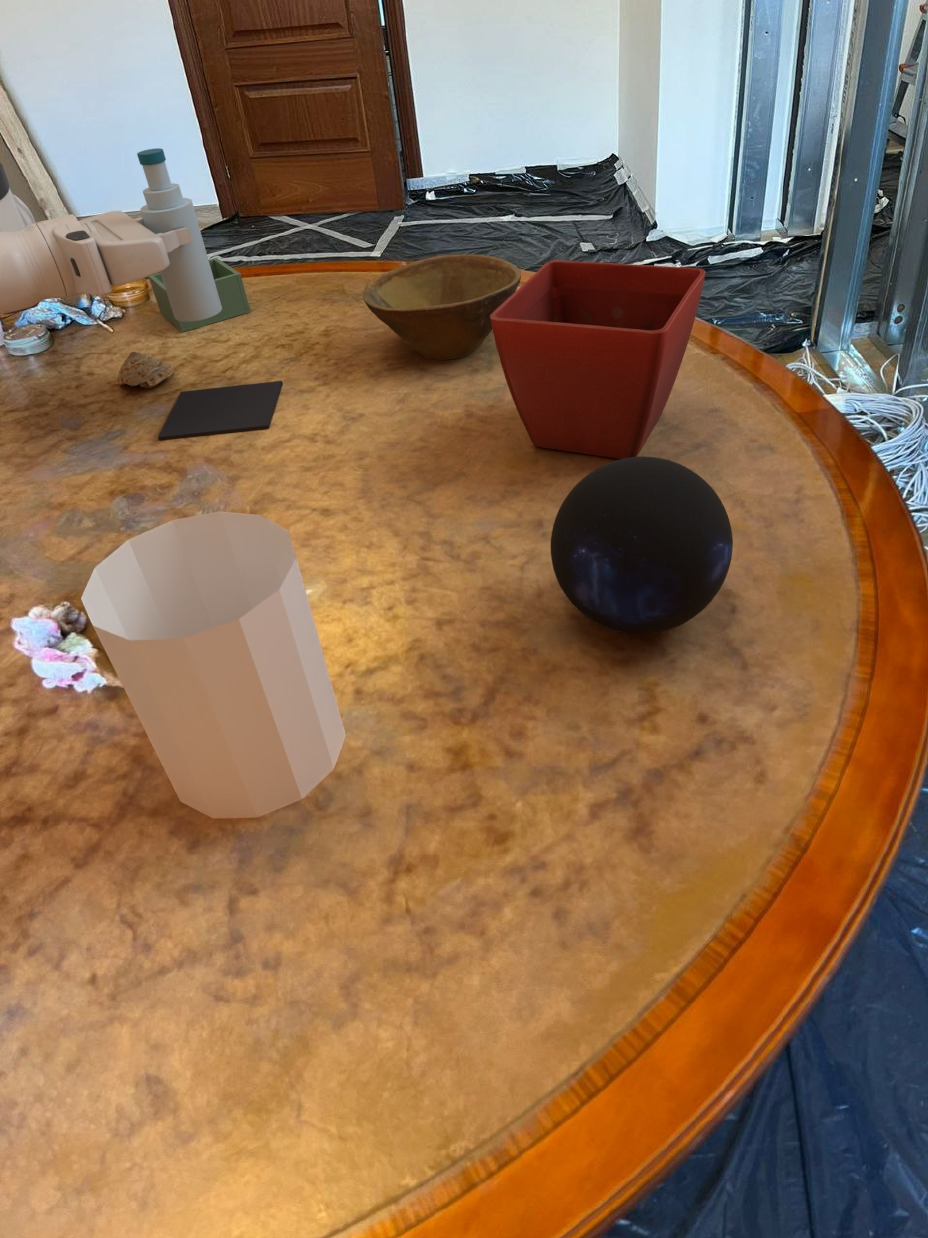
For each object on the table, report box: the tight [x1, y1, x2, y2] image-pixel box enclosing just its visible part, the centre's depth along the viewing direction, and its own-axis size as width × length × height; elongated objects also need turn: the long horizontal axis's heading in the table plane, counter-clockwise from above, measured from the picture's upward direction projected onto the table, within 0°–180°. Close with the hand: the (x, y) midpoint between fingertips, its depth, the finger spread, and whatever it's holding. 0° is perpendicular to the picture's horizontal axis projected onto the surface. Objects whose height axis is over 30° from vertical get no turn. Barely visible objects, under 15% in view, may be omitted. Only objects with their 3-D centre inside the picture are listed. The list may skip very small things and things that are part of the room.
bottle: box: [136, 147, 222, 322], centre depth 113 cm, size 7×7×20 cm
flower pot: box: [490, 259, 706, 460], centre depth 99 cm, size 19×19×17 cm
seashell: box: [117, 351, 175, 389], centre depth 129 cm, size 8×6×8 cm
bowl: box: [362, 253, 522, 361], centre depth 126 cm, size 22×23×10 cm
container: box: [80, 510, 347, 819], centre depth 64 cm, size 14×14×18 cm
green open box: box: [148, 257, 252, 333], centre depth 149 cm, size 13×13×7 cm
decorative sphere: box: [550, 456, 734, 635], centre depth 73 cm, size 15×15×15 cm
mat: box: [157, 380, 283, 441], centre depth 119 cm, size 15×14×1 cm
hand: (179, 227), depth 112 cm, fingers closed on bottle, 6 cm apart
